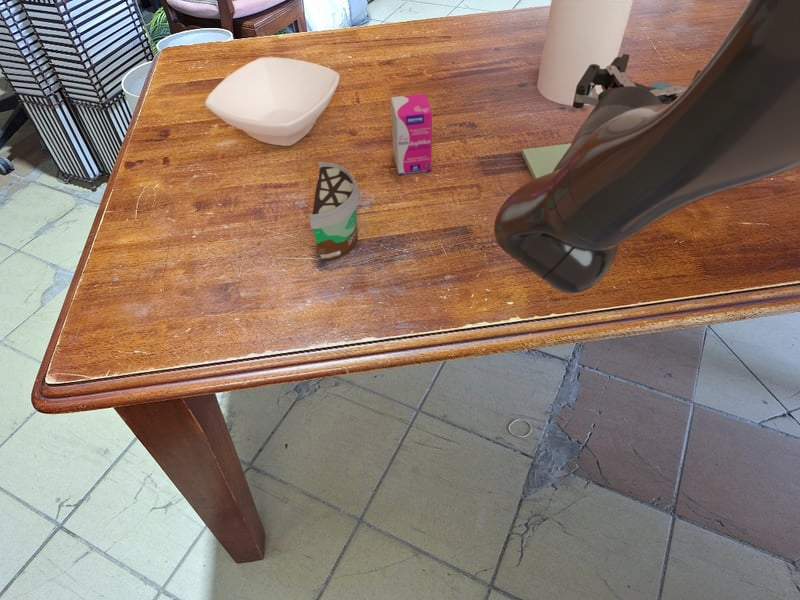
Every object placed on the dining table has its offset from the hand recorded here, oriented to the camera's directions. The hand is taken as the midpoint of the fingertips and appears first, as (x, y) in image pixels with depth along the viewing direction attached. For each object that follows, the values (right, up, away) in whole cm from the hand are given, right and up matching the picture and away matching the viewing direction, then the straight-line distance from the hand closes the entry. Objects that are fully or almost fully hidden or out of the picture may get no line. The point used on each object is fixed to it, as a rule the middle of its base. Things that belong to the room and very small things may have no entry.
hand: (660, 69), depth 63 cm
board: (+3, -6, +25) cm, 26 cm away
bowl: (-53, +4, +36) cm, 64 cm away
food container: (-39, -18, +17) cm, 47 cm away
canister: (+3, +15, +42) cm, 44 cm away
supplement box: (-29, -4, +28) cm, 41 cm away
